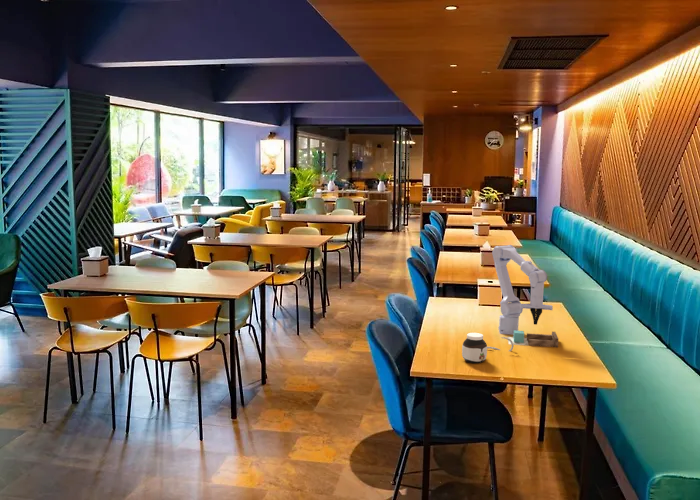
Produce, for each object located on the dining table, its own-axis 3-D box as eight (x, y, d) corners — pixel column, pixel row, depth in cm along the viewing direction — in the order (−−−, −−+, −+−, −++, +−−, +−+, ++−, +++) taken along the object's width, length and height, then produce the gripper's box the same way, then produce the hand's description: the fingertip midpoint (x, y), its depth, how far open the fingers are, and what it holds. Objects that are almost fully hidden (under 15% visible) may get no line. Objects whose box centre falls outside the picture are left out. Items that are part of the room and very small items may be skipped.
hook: (512, 355, 275) (467, 356, 283) (515, 349, 284) (471, 350, 291) (511, 339, 274) (466, 341, 282) (513, 334, 283) (470, 335, 290)
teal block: (513, 342, 293) (514, 333, 292) (513, 339, 297) (513, 330, 297) (523, 342, 292) (524, 333, 291) (523, 340, 296) (523, 330, 296)
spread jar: (469, 365, 262) (470, 338, 260) (454, 357, 272) (455, 331, 271) (492, 361, 267) (494, 335, 265) (477, 354, 277) (478, 328, 275)
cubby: (508, 345, 290) (509, 335, 289) (507, 338, 302) (507, 328, 301) (557, 348, 286) (558, 338, 285) (554, 341, 297) (555, 331, 297)
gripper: (521, 296, 290) (519, 325, 292) (553, 298, 287) (552, 327, 289) (520, 293, 297) (519, 321, 299) (552, 295, 294) (550, 323, 296)
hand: (535, 324), depth 294 cm, fingers closed
